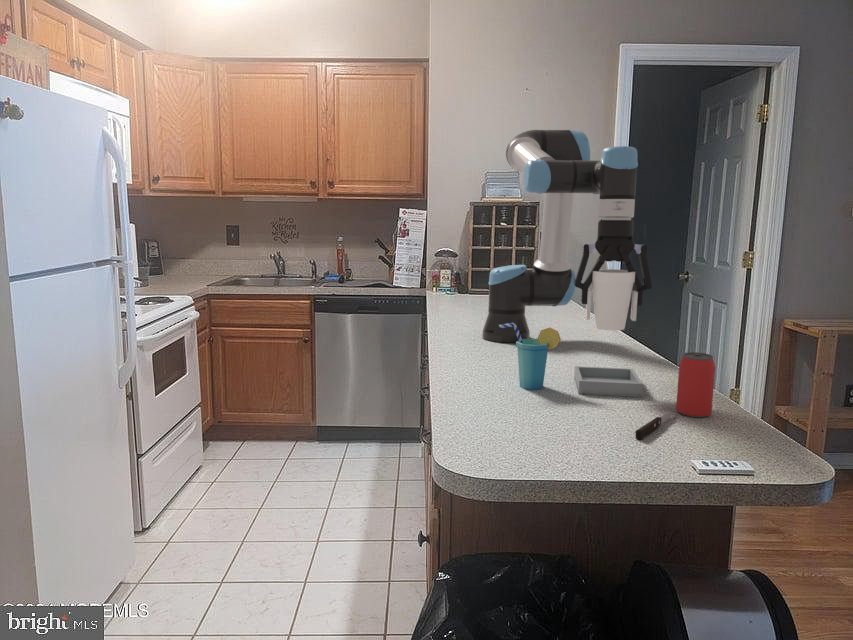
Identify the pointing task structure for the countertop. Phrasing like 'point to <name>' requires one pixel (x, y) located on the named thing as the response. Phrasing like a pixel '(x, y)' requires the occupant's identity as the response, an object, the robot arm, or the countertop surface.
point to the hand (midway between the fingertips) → (610, 319)
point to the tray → (608, 381)
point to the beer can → (695, 384)
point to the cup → (534, 356)
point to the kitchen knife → (652, 425)
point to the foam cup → (612, 297)
